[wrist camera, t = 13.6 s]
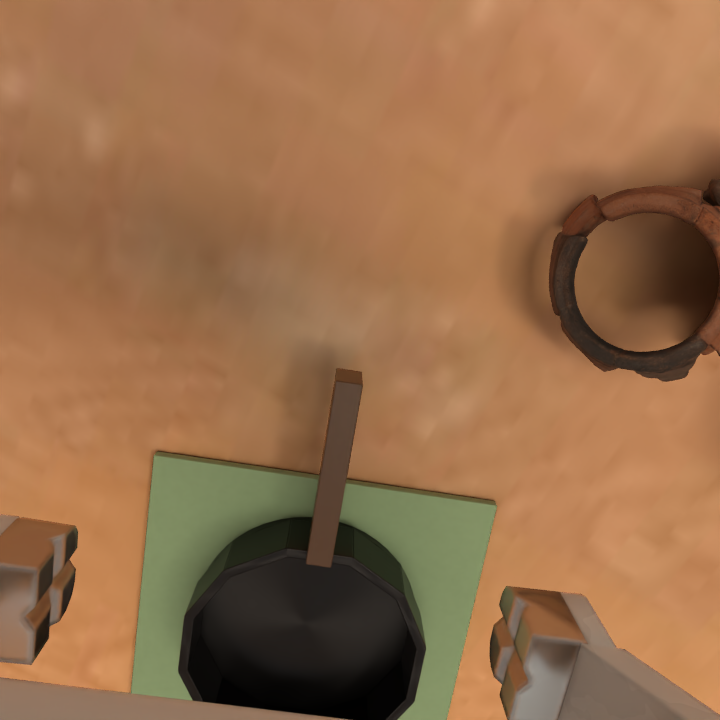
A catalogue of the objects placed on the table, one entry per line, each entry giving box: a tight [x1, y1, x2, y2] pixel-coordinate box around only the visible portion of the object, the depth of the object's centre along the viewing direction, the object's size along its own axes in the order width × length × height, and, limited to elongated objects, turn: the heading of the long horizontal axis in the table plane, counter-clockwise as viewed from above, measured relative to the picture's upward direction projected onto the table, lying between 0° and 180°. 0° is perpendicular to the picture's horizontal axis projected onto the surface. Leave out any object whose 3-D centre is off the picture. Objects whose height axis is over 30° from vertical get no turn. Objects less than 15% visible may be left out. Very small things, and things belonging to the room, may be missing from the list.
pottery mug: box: [549, 179, 720, 382], centre depth 30 cm, size 12×10×8 cm
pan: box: [178, 368, 426, 720], centre depth 33 cm, size 12×21×4 cm, turn 171°
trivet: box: [131, 452, 497, 720], centre depth 36 cm, size 18×16×1 cm
